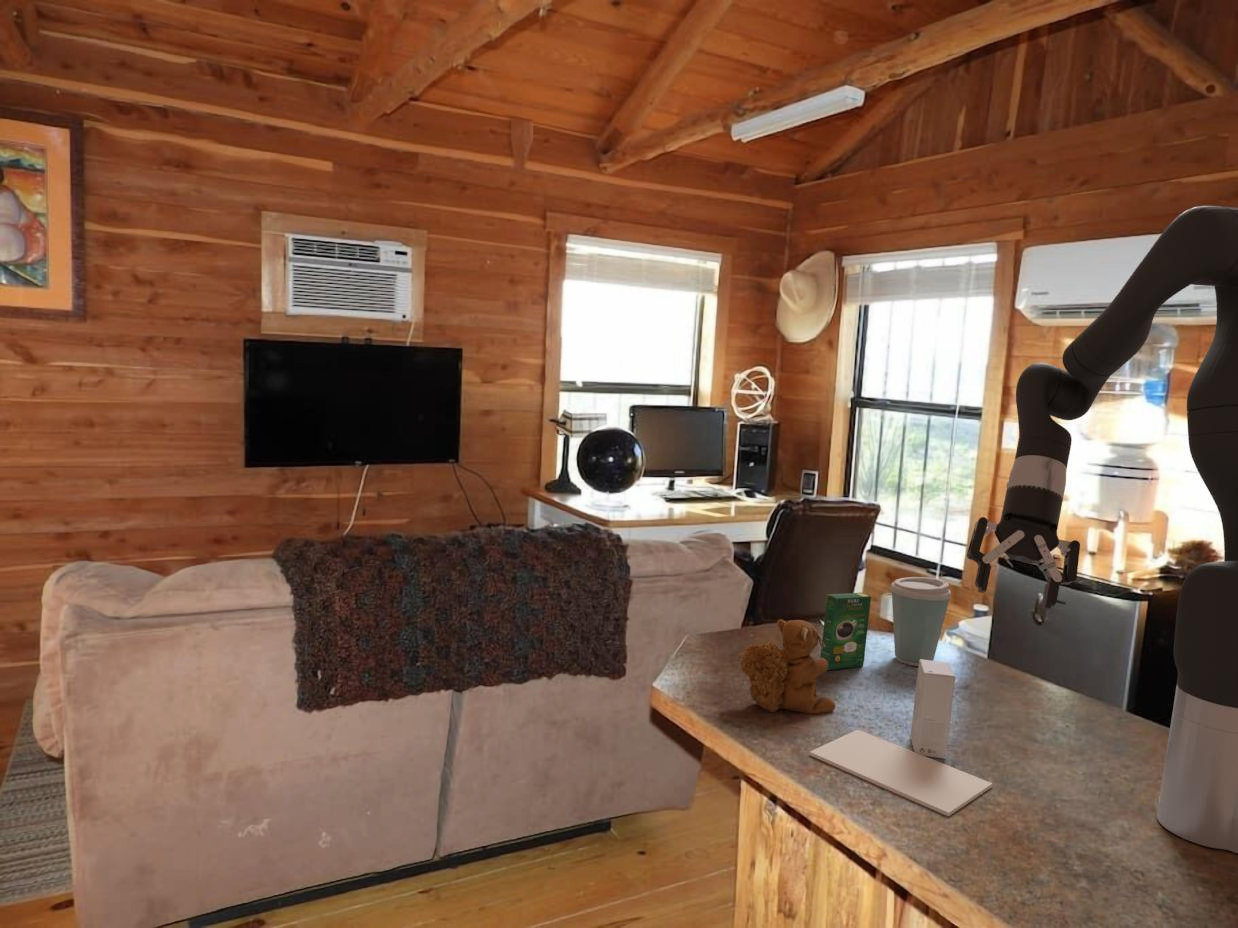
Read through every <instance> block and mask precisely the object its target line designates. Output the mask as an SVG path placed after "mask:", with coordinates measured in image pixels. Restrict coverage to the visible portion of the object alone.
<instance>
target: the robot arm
mask: <svg viewBox="0 0 1238 928" xmlns="http://www.w3.org/2000/svg"><path fill="white" fill-rule="evenodd" d="M1193 285H1195V286H1208V287H1209V286H1210V287H1214V292H1215V300H1216V302H1215V303H1216V324H1215V325H1216V326H1215V331H1214V335H1213V339H1212V341H1211V344H1210V346H1209V349H1208V350H1207V352H1206V354H1205V356H1204V358H1203V360H1202V362H1201V363H1200V365H1199V367H1198V369H1197V371H1196V373H1195V374H1194V377H1193V379H1192V381H1191V384H1190V386H1189V389H1188V393H1187V395H1186V396H1187V397H1186V418H1187V419H1186V420H1187V435H1188V447H1189V451H1190V456H1191V458H1192V461H1193V464H1194V465H1195V466H1194V467H1195V468H1196V470H1197V473H1198V474H1199V476H1200V478H1201V479H1202V481H1203V483H1204V485H1205V487H1206V488H1207V490H1208V492H1209V493H1210V496H1211V498H1212V500H1213V502H1214V504H1215V506H1216V508H1217V510H1218V513H1219V516H1220V521H1221V525H1222V531H1223V534H1222V535H1223V548H1224V549H1223V550H1224V553H1223V556H1224V558H1223V561H1221V560H1220V561H1211V562H1206V563H1202V564H1200V565H1197V566H1196V567H1194V568H1193V569H1192V570H1190V572H1189V573H1188V574H1187V575H1186V577H1185V579H1184V580H1183V582H1182V585H1181V587H1180V590H1179V594H1178V595H1179V596H1178V600H1177V609H1176V618H1175V628H1174V629H1175V630H1174V631H1175V632H1174V639H1173V640H1174V642H1173V659H1174V660H1173V661H1174V664H1175V666H1176V669H1177V680H1176V687H1175V695H1174V701H1173V707H1172V714H1171V720H1170V727H1169V733H1168V740H1167V745H1166V754H1165V760H1164V765H1163V772H1162V779H1161V780H1162V781H1161V787H1160V792H1159V797H1158V803H1157V804H1158V805H1157V813H1156V816H1157V817H1156V818H1157V820H1158V822H1159V823H1160V824H1161V826H1162V827H1164V828H1165V829H1166V830H1168V831H1169V832H1170V833H1172V834H1174V835H1176V836H1178V837H1180V838H1182V839H1183V840H1186V841H1188V842H1191V843H1193V844H1194V843H1195V844H1197V845H1201V846H1203V847H1207V848H1213V849H1219V850H1225V851H1230V852H1232V853H1235V854H1238V207H1233V206H1232V207H1230V206H1219V205H1200V206H1195V207H1191V208H1189V209H1187V210H1184V211H1183V212H1182V213H1180V214H1179V215H1178V216H1177V217H1176V218H1175V219H1173V221H1171V223H1169V225H1168V226H1167V227H1166V228H1165V229H1164V231H1163V232H1162V233H1161V234H1160V236H1159V237H1157V240H1156V241H1155V242H1154V244H1153V245H1152V247H1151V248H1150V249H1149V250H1148V252H1147V253H1146V255H1145V256H1144V257H1143V259H1142V261H1141V262H1140V263H1139V264H1138V266H1137V267H1136V268H1135V269H1134V270H1133V272H1132V274H1131V275H1130V276H1129V278H1128V279H1127V280H1126V282H1125V284H1124V285H1123V286H1122V288H1121V289H1120V290H1119V292H1118V293H1117V294H1116V295H1115V297H1114V298H1113V300H1112V301H1111V302H1110V303H1109V305H1108V306H1107V307H1106V308H1105V309H1104V310H1103V311H1102V312H1101V313H1100V314H1099V315H1098V316H1097V317H1096V318H1095V319H1094V320H1093V321H1092V322H1091V323H1090V324H1089V325H1088V326H1086V328H1085V329H1084V330H1082V332H1080V334H1078V335H1077V336H1076V337H1075V339H1073V340H1072V341H1071V342H1070V343H1069V344H1068V345H1067V347H1066V348H1065V349H1064V351H1063V353H1062V365H1063V367H1064V368H1065V369H1064V368H1060V367H1058V366H1055V365H1053V364H1049V363H1047V362H1035V363H1031V364H1030V365H1029V366H1027V367H1026V368H1025V369H1024V370H1023V371H1022V372H1021V374H1020V376H1019V378H1018V380H1017V383H1016V387H1015V403H1016V411H1017V422H1018V432H1019V434H1018V435H1019V438H1018V441H1017V442H1018V443H1017V447H1016V452H1015V457H1014V461H1013V465H1012V467H1011V470H1010V473H1009V476H1008V480H1007V483H1006V492H1005V497H1004V501H1003V507H1002V511H1001V515H1000V520H999V523H995V522H991V521H990V520H989V521H988V518H986V517H985V516H981V517H980V518H979V519H978V520H977V521H976V522H975V525H974V528H973V531H972V535H971V538H970V541H969V546H968V548H967V553H966V557H967V558H968V559H969V560H971V561H973V562H975V563H976V564H977V570H976V577H975V581H974V587H976V588H978V590H977V592H979V593H982V594H984V593H985V592H987V589H988V585H989V580H990V575H991V569H992V565H991V563H992V562H994V561H995V560H997V559H998V558H1000V557H1001V556H1003V555H1004V554H1005V555H1006V556H1007V557H1008V559H1013V560H1021V561H1023V562H1025V563H1028V564H1033V563H1036V565H1037V568H1039V571H1040V572H1042V573H1043V575H1044V578H1045V579H1046V581H1047V583H1045V585H1044V589H1043V590H1044V591H1043V595H1042V601H1041V607H1040V608H1041V610H1044V611H1048V610H1050V609H1051V608H1052V607H1055V606H1056V604H1057V602H1058V598H1059V597H1058V596H1059V591H1060V585H1068V586H1069V585H1070V584H1071V583H1073V582H1075V581H1077V578H1078V576H1077V575H1078V569H1079V560H1080V559H1079V558H1080V549H1081V543H1080V541H1078V540H1077V539H1075V540H1072V541H1069V540H1065V539H1059V536H1058V527H1059V523H1060V516H1061V512H1062V507H1063V502H1064V501H1063V500H1064V496H1065V490H1066V485H1067V469H1068V463H1069V458H1070V453H1071V446H1072V442H1073V441H1072V439H1073V438H1072V434H1071V433H1070V431H1068V429H1067V428H1065V427H1064V426H1062V425H1061V424H1059V423H1058V422H1057V421H1056V420H1054V419H1053V418H1052V417H1054V418H1056V419H1060V420H1063V421H1073V420H1076V419H1077V420H1078V419H1079V418H1081V417H1084V415H1086V414H1087V413H1088V411H1089V410H1090V409H1091V407H1092V405H1093V403H1094V402H1095V400H1096V398H1097V396H1098V394H1099V393H1100V391H1101V390H1102V389H1103V386H1105V384H1106V383H1107V382H1108V380H1109V379H1110V378H1111V377H1112V375H1114V374H1115V372H1117V371H1118V370H1119V369H1120V368H1122V367H1123V366H1124V365H1125V364H1126V363H1128V362H1129V361H1130V360H1131V359H1132V358H1134V356H1135V355H1137V354H1138V352H1140V350H1141V349H1142V347H1143V346H1144V345H1145V343H1146V341H1147V339H1148V337H1149V334H1150V331H1151V328H1152V325H1153V321H1154V317H1155V315H1156V313H1157V312H1158V310H1159V309H1160V308H1161V307H1162V306H1163V305H1164V304H1165V303H1166V302H1167V301H1168V300H1169V299H1171V298H1172V297H1174V296H1175V295H1176V294H1178V293H1179V292H1181V291H1183V290H1184V289H1186V288H1188V287H1189V286H1193ZM991 532H994V535H995V536H996V538H997V540H998V543H999V544H998V545H996V546H995V547H994V548H992V550H990V551H988V553H983V552H982V551H981V547H982V544H983V541H984V537H987V536H989V535H990V533H991ZM1056 548H1058V549H1059V550H1060V555H1061V556H1063V557H1064V558H1063V559H1064V560H1063V567H1062V573H1060V570H1059V569H1058V567H1057V565H1056V563H1057V562H1056V561H1055V559H1054V557H1053V555H1052V553H1051V552H1052V551H1054V550H1055V549H1056Z"/></svg>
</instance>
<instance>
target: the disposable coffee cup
mask: <svg viewBox="0 0 1238 928" xmlns="http://www.w3.org/2000/svg"><path fill="white" fill-rule="evenodd" d="M890 592H891V600H892V602H891V603H892V621H893V623H892V624H893V641H894V656H895V660H897V661H898V662H900V663H902V664H904V665H908V666H914V667H919V660H920V659H924V660H931V661H935V656H936V652H937V649H938V645H939V644H938V643H939V641H940V637H941V633H942V628H943V624H944V621H945V617H946V613H947V610H948V606H949V602H950V599H952V592H951V590H950V585H949V583H948V582H947V581H946V580H942V579H941V578H934V577H923V576H910V577H901V578H900V577H899V578H898V579H894V581H892V582H891V585H890Z"/></svg>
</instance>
